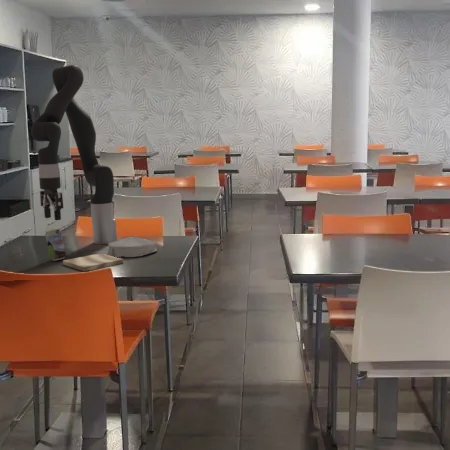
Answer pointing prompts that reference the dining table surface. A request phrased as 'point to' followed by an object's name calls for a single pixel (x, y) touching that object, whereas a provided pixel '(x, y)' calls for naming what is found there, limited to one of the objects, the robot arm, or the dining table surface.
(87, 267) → the coaster board
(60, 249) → the beverage can
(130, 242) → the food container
